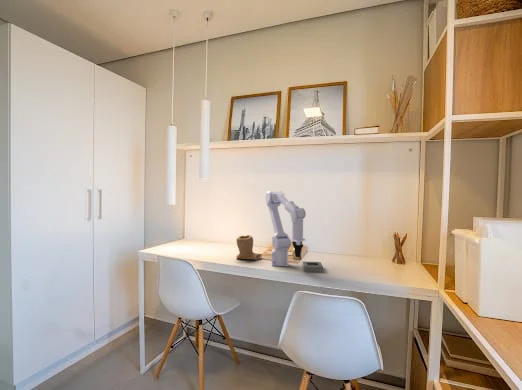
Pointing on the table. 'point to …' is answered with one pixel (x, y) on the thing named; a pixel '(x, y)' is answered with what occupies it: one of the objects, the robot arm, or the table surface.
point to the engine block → (312, 267)
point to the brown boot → (246, 248)
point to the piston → (297, 257)
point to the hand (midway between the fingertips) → (297, 255)
